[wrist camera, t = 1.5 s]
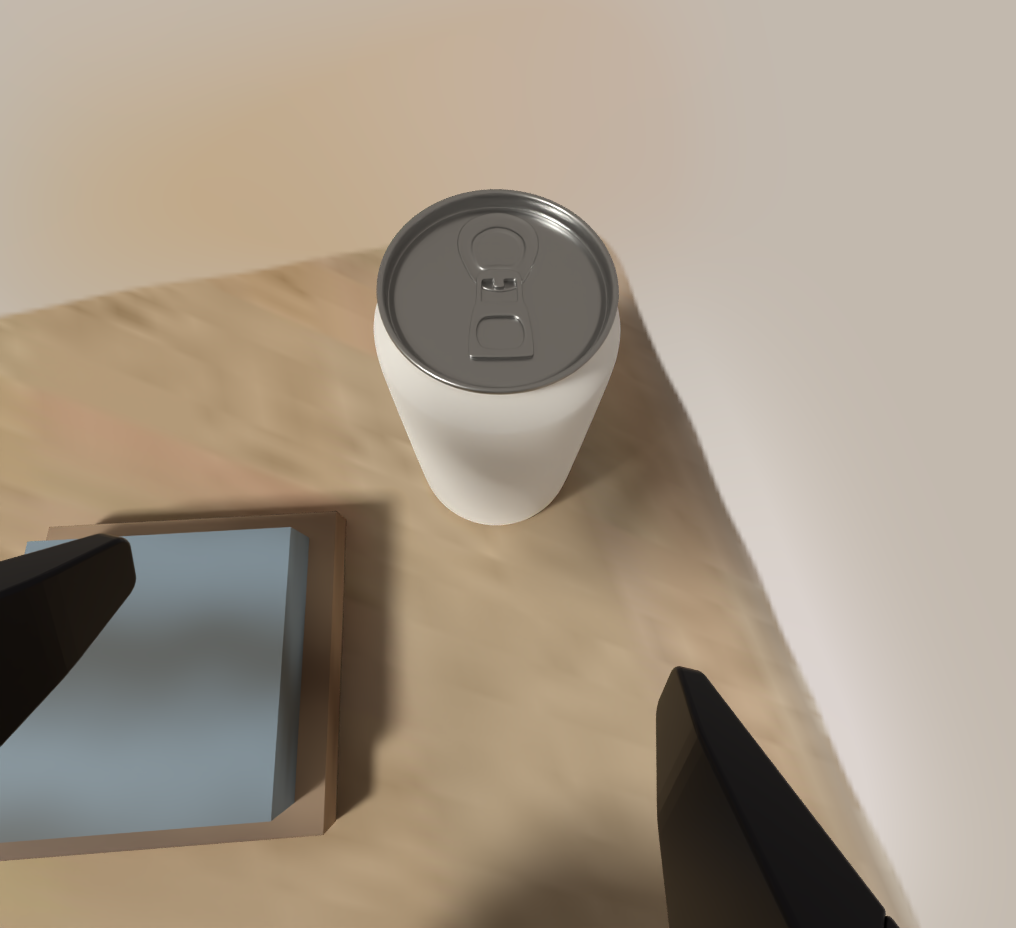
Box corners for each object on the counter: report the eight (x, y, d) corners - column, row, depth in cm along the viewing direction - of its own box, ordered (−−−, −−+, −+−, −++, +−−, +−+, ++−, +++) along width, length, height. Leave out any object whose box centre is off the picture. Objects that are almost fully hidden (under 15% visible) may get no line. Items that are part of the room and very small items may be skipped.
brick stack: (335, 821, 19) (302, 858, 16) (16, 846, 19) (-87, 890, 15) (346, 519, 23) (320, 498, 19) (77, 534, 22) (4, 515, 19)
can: (564, 389, 25) (623, 173, 13) (574, 526, 23) (653, 408, 11) (424, 391, 25) (364, 175, 13) (421, 530, 23) (347, 413, 11)
